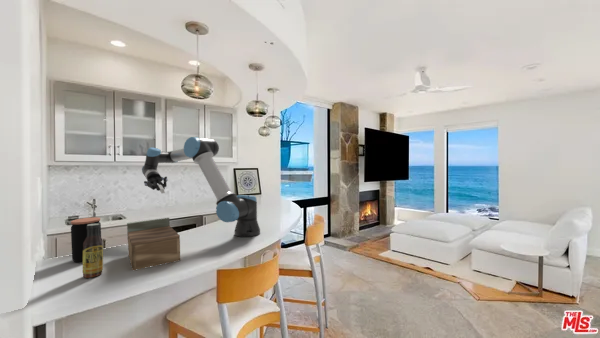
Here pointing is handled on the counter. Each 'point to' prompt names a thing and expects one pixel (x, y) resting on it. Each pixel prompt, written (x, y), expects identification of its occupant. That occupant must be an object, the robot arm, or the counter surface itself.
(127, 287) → the counter surface
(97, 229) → the sauce bottle
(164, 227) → the lid
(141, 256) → the chest
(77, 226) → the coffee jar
